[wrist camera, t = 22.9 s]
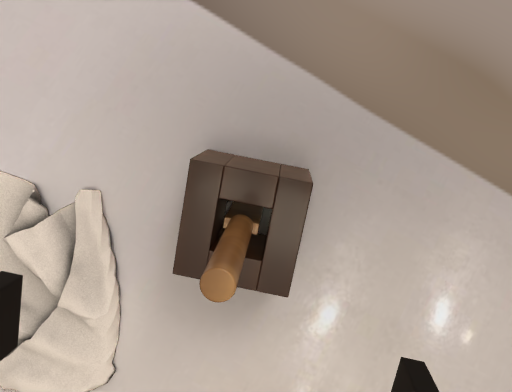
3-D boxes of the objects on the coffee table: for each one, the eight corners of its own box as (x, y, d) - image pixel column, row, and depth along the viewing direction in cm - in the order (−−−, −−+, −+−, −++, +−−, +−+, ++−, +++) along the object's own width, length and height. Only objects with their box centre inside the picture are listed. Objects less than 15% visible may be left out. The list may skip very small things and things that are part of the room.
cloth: (37, 432, 41) (22, 453, 38) (-136, 253, 38) (-164, 263, 36) (204, 309, 37) (198, 323, 34) (24, 101, 34) (4, 101, 32)
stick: (264, 201, 34) (246, 273, 20) (260, 221, 35) (239, 308, 20) (234, 195, 35) (194, 263, 20) (230, 216, 35) (189, 297, 20)
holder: (309, 169, 34) (313, 183, 28) (288, 265, 35) (288, 297, 30) (207, 149, 34) (190, 158, 28) (191, 245, 36) (172, 273, 30)
